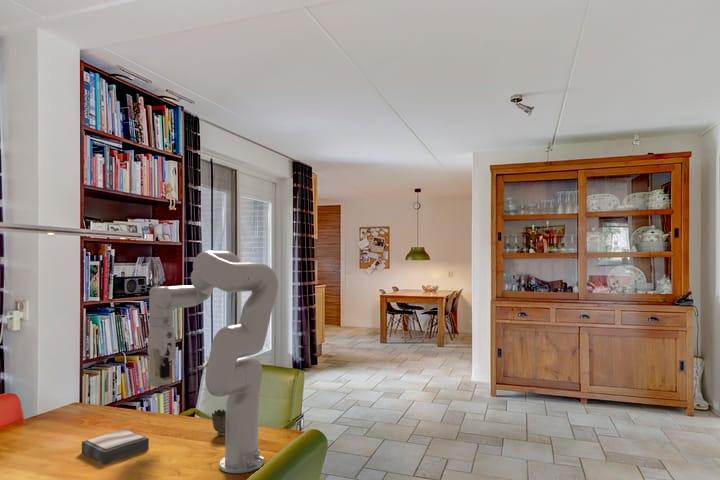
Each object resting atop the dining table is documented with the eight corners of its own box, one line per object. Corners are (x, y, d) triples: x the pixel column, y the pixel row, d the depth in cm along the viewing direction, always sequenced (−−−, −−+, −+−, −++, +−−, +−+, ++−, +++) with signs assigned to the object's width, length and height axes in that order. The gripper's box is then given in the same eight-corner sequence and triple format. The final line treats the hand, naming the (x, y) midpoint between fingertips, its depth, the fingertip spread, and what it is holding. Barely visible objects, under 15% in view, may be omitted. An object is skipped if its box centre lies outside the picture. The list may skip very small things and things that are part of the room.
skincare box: (154, 387, 157) (155, 350, 158) (148, 385, 160) (148, 348, 160) (172, 383, 162) (173, 347, 163) (165, 381, 165) (166, 346, 166)
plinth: (148, 449, 151) (148, 436, 151) (103, 464, 140) (104, 450, 140) (125, 439, 159) (125, 427, 160) (81, 453, 148) (82, 440, 148)
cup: (227, 440, 159) (227, 416, 160) (207, 438, 161) (207, 414, 161) (237, 432, 167) (237, 409, 167) (218, 430, 168) (218, 408, 169)
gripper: (185, 322, 160) (185, 377, 159) (157, 320, 170) (156, 371, 169) (165, 325, 154) (164, 381, 153) (137, 322, 164) (136, 375, 163)
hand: (160, 375), depth 161 cm, fingers closed on skincare box, 4 cm apart
